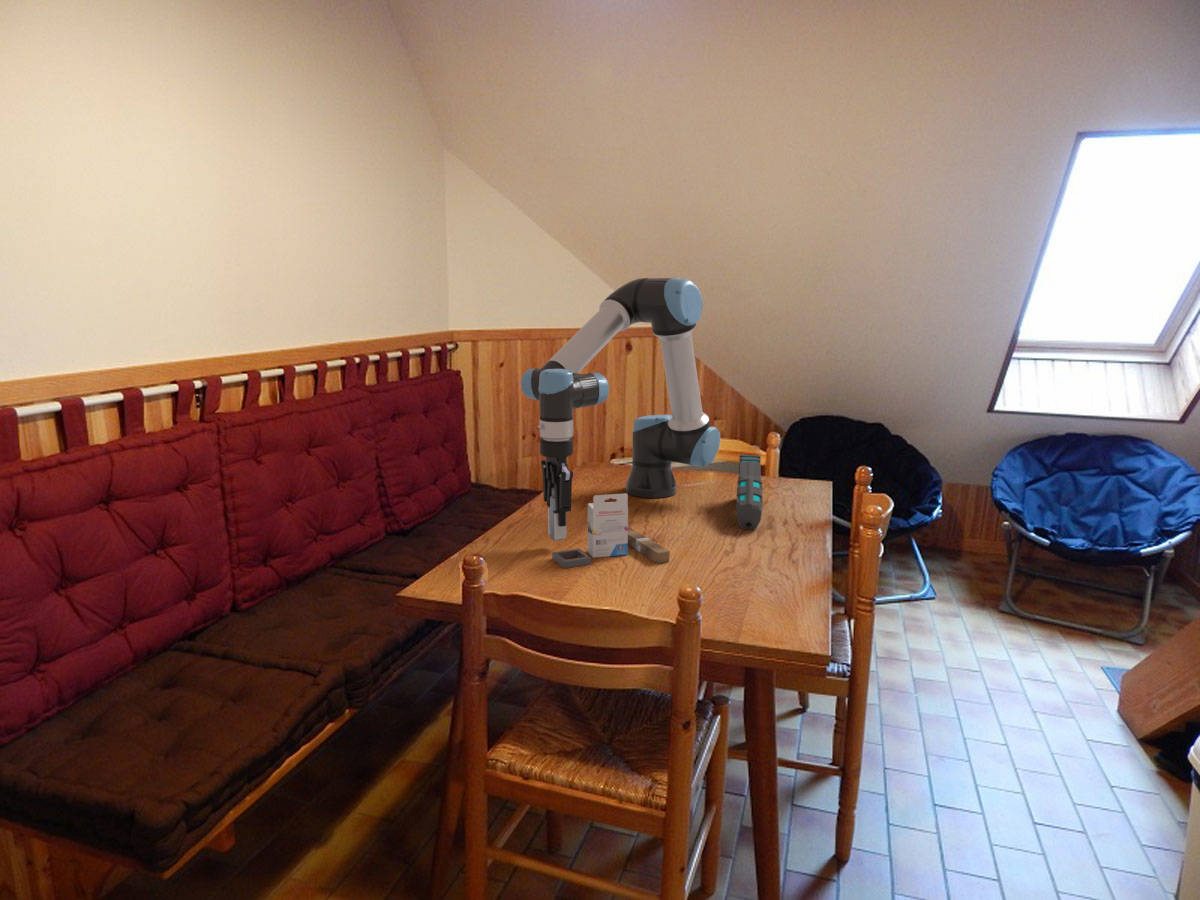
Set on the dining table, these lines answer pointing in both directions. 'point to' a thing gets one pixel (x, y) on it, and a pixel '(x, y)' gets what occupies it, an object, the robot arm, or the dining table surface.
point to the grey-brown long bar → (647, 547)
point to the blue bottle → (552, 515)
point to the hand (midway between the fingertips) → (557, 535)
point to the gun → (749, 492)
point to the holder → (581, 560)
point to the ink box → (608, 526)
